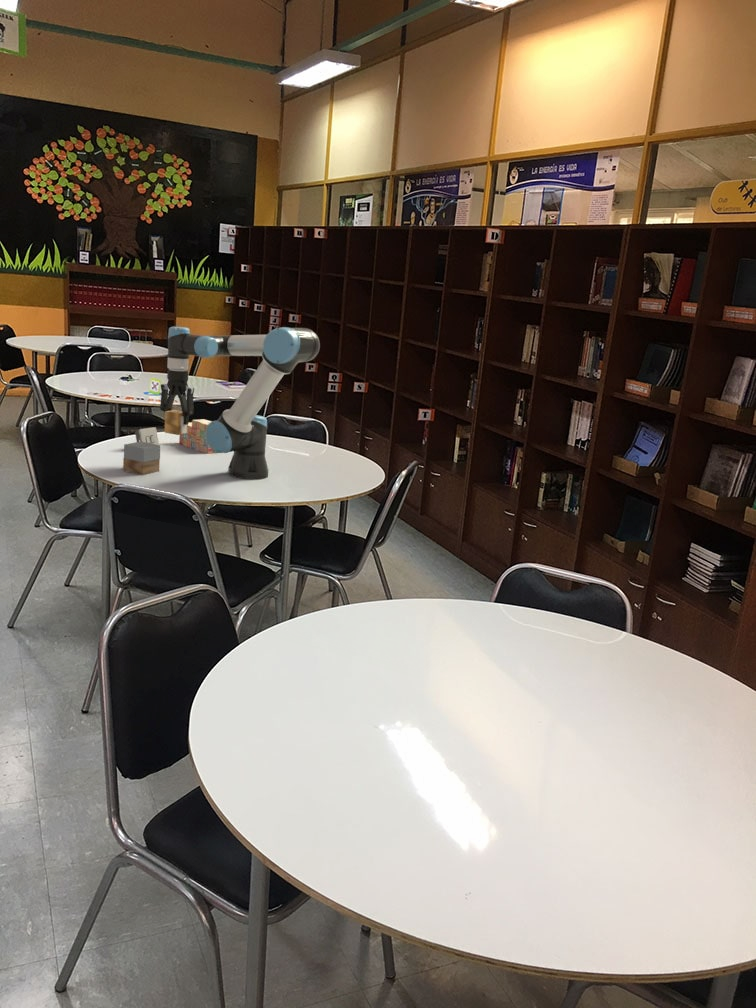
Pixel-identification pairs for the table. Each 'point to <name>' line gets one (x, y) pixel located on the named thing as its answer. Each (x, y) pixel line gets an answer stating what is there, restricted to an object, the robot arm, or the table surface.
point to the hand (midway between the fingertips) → (176, 431)
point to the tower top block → (142, 451)
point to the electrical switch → (147, 435)
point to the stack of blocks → (196, 436)
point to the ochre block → (173, 422)
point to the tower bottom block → (141, 466)
